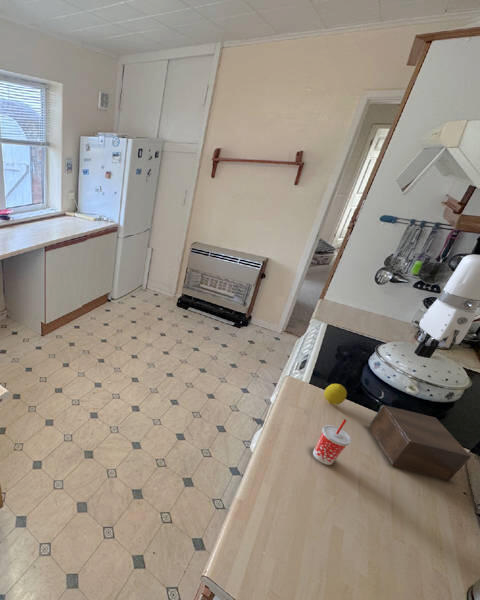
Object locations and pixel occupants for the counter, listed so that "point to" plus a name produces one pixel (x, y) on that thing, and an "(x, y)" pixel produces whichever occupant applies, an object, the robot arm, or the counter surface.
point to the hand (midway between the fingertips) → (421, 355)
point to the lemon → (335, 393)
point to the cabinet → (418, 443)
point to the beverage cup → (331, 443)
